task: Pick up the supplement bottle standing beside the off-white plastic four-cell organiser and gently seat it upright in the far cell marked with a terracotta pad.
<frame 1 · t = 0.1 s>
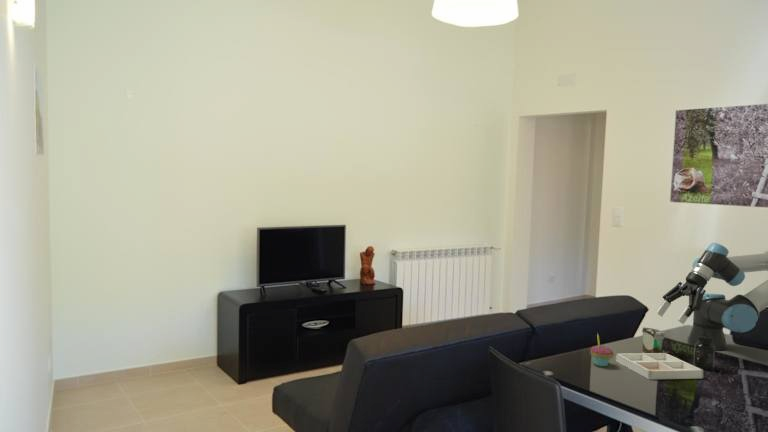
hand: (669, 318, 240), 15 cm above the table, tool tilted 35°, fingers open, 13 cm apart
food container: (654, 355, 241), on the table
cupcake: (601, 364, 225), on the table
organiser: (657, 369, 221), on the table
supplement bottle: (703, 368, 226), on the table
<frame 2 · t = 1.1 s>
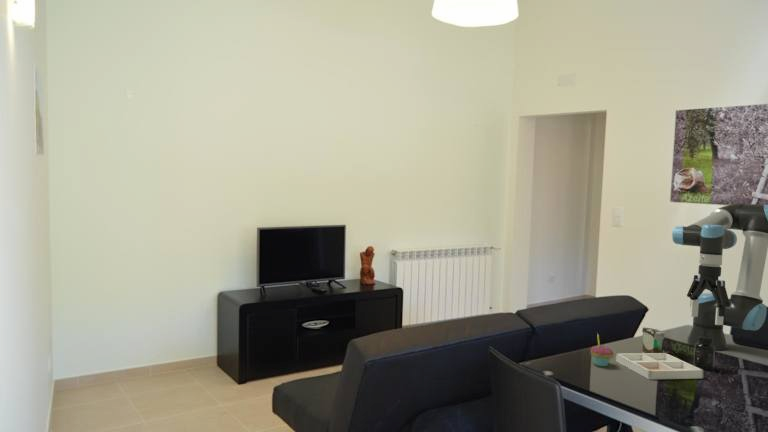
hand: (706, 320, 225), 18 cm above the table, tool pointing down, fingers open, 13 cm apart
nothing on the table moved.
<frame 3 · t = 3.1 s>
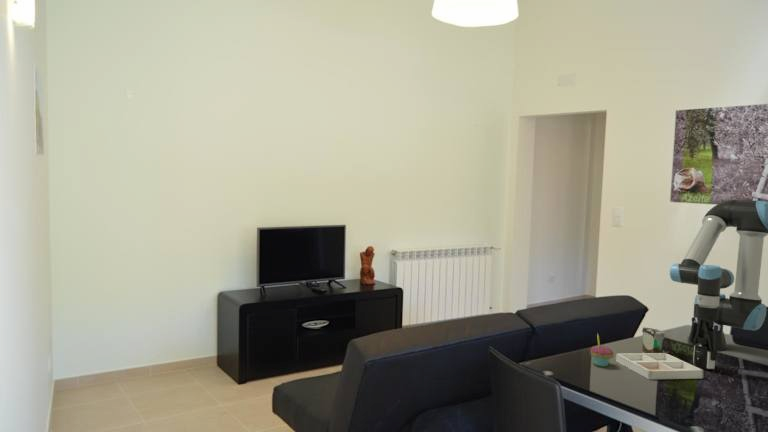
hand: (703, 365, 226), 1 cm above the table, tool pointing down, fingers closed on supplement bottle, 7 cm apart
supplement bottle: (703, 368, 226), on the table, touching gripper
everything else where it was.
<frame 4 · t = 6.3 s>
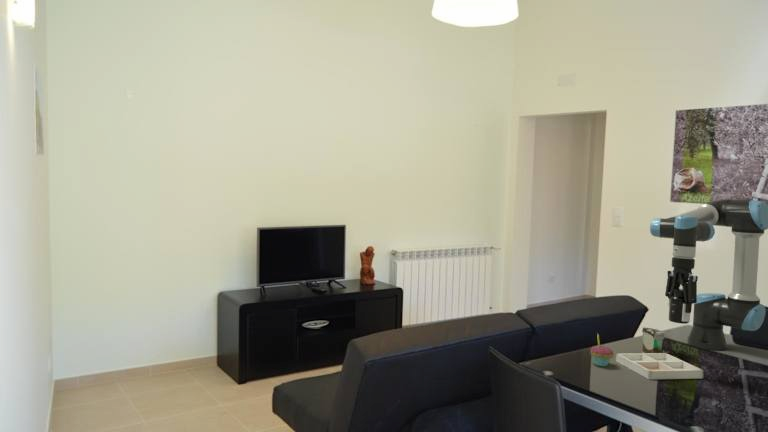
hand: (678, 318, 218), 20 cm above the table, tool pointing down, fingers closed on supplement bottle, 7 cm apart
supplement bottle: (678, 322, 218), point 19 cm above the table, touching gripper
everything else where it was.
when the fingers open (4 cm above the table, at t = 9.8 s): supplement bottle stays where it is, point 2 cm above the table.
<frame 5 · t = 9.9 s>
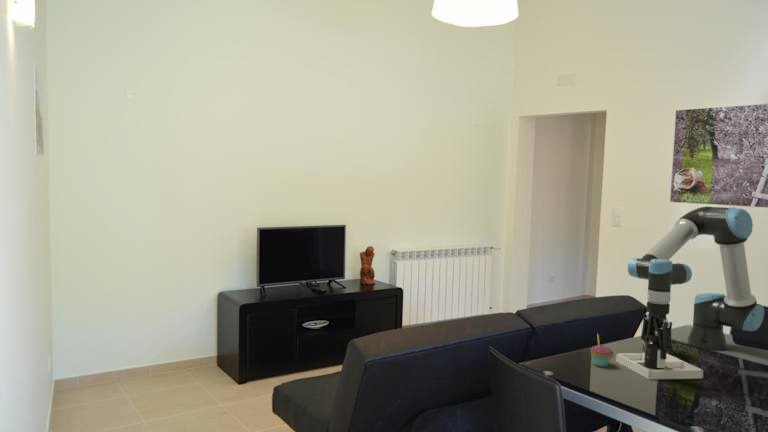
hand: (654, 364, 215), 4 cm above the table, tool pointing down, fingers open, 7 cm apart
supplement bottle: (654, 367, 215), point 2 cm above the table
everything else where it was.
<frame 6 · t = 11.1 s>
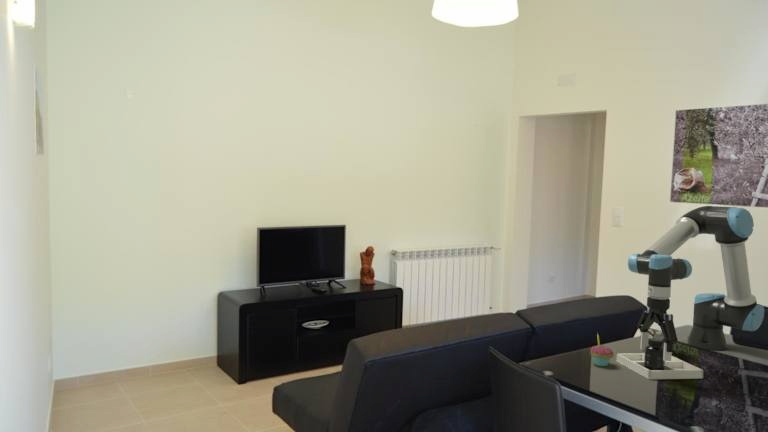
hand: (655, 354, 215), 7 cm above the table, tool pointing down, fingers open, 13 cm apart
supplement bottle: (653, 372, 215), point 1 cm above the table, touching organiser
everything else where it was.
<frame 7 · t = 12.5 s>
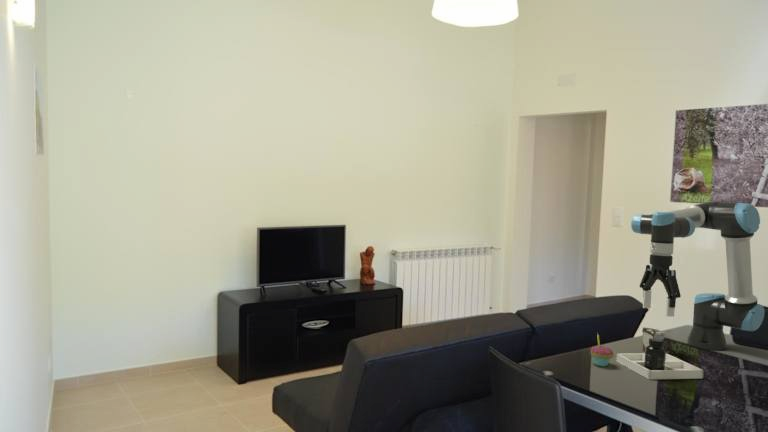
hand: (657, 312, 216), 23 cm above the table, tool pointing down, fingers open, 13 cm apart
nothing on the table moved.
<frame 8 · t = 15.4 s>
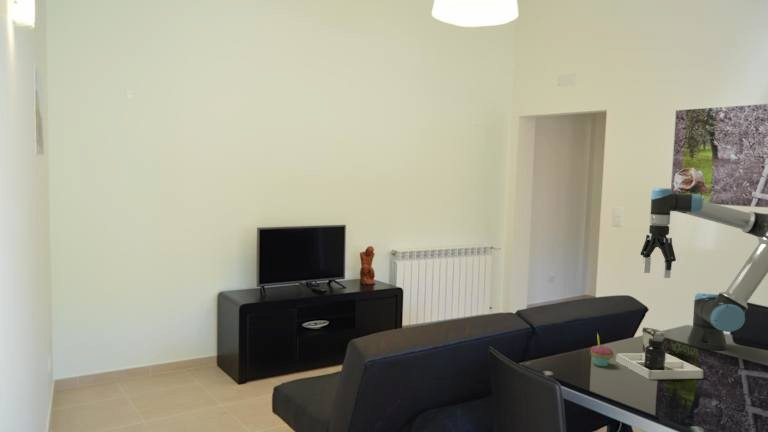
hand: (656, 275, 248), 32 cm above the table, tool pointing down, fingers open, 13 cm apart
nothing on the table moved.
at the end: supplement bottle 0.1 cm from the target spot on the organiser, point 0.6 cm above the organiser's base; supplement bottle tilted 0°; the gripper is holding nothing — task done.
